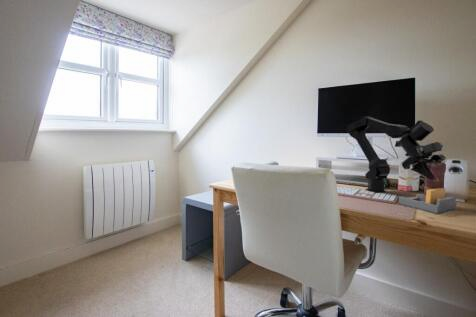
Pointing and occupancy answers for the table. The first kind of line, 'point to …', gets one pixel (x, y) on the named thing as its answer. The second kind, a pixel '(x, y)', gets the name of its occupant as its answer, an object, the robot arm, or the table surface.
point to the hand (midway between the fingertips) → (437, 178)
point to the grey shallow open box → (421, 204)
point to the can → (435, 176)
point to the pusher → (434, 195)
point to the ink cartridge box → (408, 179)
